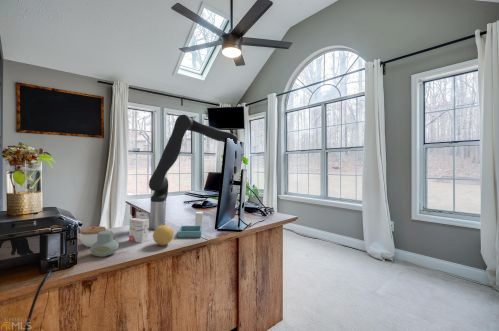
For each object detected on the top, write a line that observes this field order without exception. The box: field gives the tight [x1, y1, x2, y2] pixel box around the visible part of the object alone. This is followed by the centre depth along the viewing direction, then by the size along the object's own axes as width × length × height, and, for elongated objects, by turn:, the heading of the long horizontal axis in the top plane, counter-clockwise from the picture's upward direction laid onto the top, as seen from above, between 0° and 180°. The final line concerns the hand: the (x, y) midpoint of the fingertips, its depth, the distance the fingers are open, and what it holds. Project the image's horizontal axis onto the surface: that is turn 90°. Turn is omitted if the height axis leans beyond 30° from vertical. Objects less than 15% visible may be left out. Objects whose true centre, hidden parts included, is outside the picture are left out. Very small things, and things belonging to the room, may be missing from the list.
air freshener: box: [89, 229, 120, 258], centre depth 104 cm, size 11×8×10 cm
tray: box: [177, 225, 203, 239], centre depth 137 cm, size 13×13×4 cm
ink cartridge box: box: [128, 211, 150, 244], centre depth 123 cm, size 9×5×15 cm, turn 74°
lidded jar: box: [79, 225, 107, 248], centre depth 115 cm, size 11×11×9 cm
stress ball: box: [152, 224, 174, 246], centre depth 119 cm, size 10×10×10 cm
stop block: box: [194, 211, 204, 226], centre depth 153 cm, size 4×4×10 cm
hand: (229, 192), depth 144 cm, fingers open, 8 cm apart
